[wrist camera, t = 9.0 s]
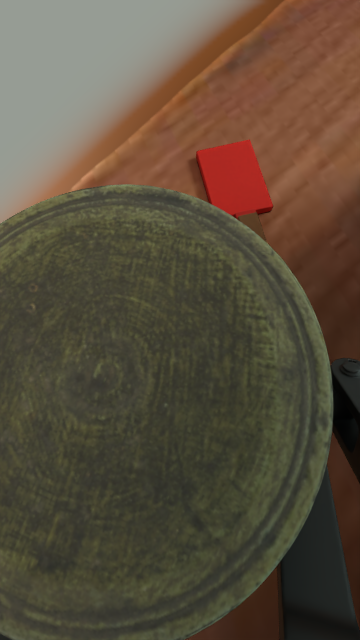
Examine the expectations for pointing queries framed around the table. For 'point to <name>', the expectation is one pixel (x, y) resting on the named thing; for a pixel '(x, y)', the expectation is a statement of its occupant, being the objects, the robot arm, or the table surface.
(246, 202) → the red spatula
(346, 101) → the table surface
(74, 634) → the container
